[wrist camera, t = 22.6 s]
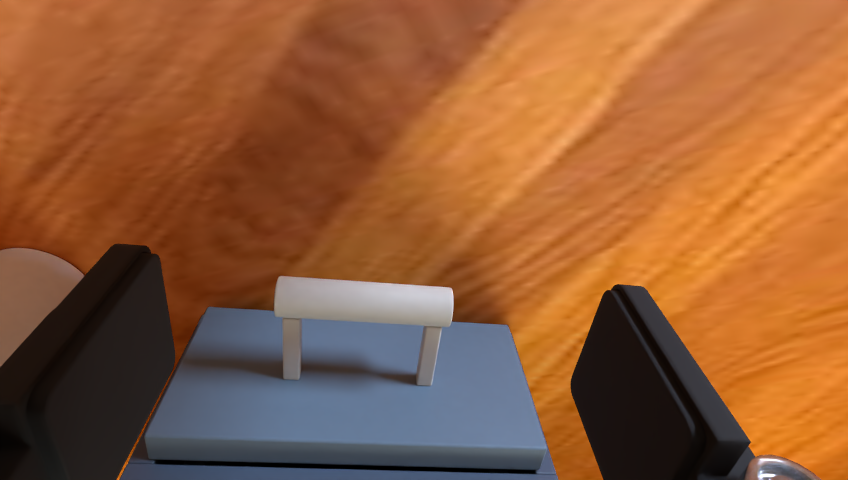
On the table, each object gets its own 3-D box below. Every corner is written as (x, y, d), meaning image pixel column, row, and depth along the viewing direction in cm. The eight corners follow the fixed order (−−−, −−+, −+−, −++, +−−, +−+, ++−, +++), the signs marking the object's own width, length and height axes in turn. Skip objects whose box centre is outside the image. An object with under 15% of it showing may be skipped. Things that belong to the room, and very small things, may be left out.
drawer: (198, 217, 20) (120, 330, 14) (529, 244, 22) (582, 355, 16) (228, 520, 30) (189, 662, 24) (456, 523, 31) (472, 657, 25)
